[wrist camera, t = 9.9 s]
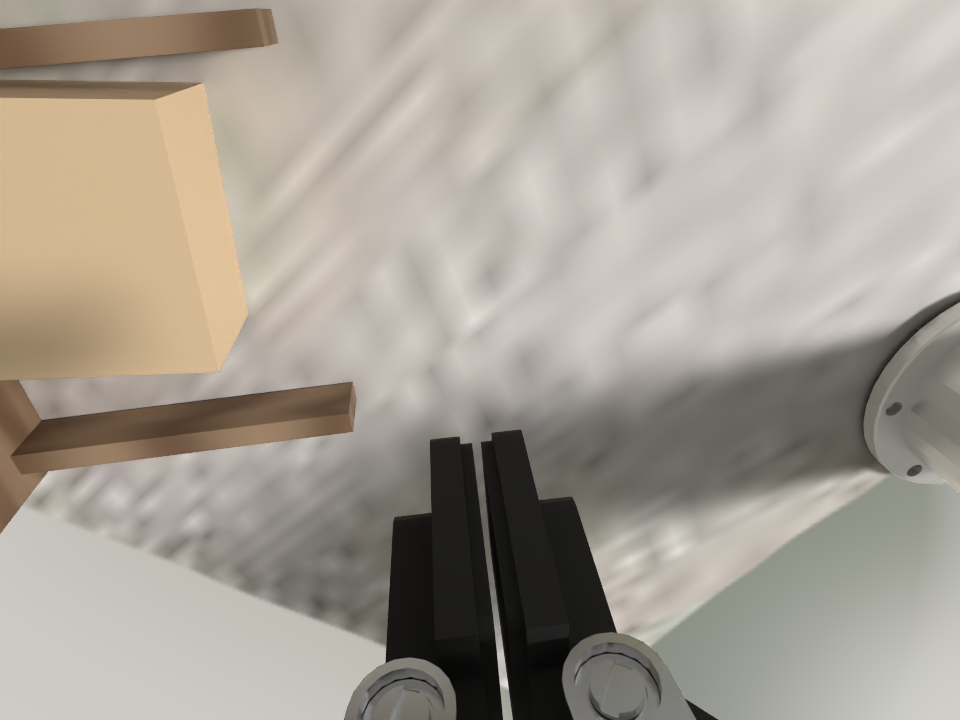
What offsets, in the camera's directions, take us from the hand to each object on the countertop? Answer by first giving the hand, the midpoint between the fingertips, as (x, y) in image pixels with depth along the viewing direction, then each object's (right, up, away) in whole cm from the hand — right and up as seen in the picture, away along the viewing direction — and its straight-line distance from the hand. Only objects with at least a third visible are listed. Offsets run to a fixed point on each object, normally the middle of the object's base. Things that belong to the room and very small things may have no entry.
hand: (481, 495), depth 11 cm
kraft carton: (-15, +8, +11) cm, 20 cm away
